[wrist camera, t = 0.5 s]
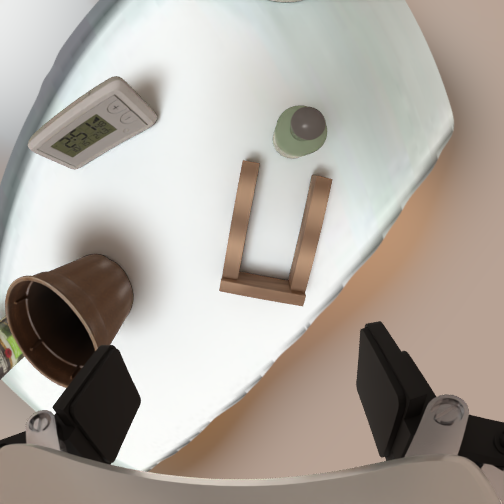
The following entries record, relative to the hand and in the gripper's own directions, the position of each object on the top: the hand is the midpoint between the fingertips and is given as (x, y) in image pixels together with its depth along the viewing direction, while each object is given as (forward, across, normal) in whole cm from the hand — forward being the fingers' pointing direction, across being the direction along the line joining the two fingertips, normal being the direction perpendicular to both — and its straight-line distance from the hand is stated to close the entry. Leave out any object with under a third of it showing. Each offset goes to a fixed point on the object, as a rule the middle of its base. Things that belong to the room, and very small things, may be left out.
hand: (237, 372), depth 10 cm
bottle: (+30, -6, -10) cm, 32 cm away
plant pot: (+30, +26, +8) cm, 41 cm away
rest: (+30, -2, +1) cm, 30 cm away
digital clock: (+31, +19, -16) cm, 40 cm away
